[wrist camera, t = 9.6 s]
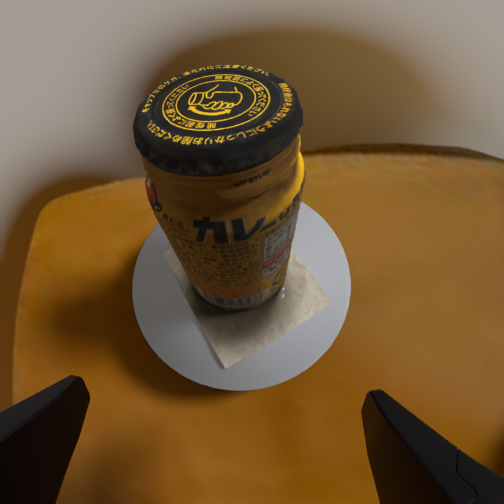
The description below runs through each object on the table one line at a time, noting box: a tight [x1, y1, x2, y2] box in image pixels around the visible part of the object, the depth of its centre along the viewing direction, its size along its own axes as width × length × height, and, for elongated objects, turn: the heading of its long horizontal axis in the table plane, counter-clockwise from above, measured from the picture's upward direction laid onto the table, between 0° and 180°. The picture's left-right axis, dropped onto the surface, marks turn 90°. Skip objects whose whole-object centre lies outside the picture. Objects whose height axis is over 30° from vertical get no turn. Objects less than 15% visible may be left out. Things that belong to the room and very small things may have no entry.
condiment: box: [133, 65, 332, 369], centre depth 13 cm, size 7×8×12 cm
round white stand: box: [132, 202, 351, 391], centre depth 20 cm, size 14×14×4 cm
